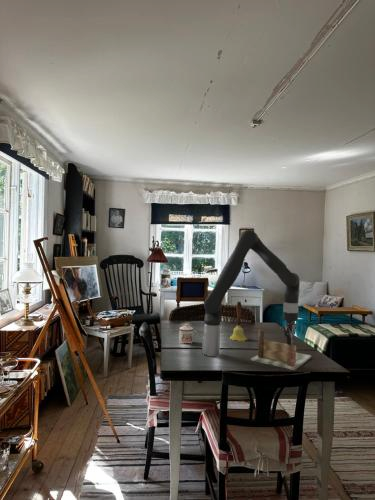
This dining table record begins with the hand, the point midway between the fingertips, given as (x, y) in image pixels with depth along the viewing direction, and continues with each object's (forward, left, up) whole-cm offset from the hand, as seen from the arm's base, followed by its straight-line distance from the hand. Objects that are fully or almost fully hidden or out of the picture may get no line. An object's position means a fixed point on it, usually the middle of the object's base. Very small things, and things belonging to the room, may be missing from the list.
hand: (290, 343), depth 183 cm
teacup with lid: (-66, 0, -11) cm, 67 cm away
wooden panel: (-6, 0, -10) cm, 11 cm away
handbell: (-46, +30, -11) cm, 56 cm away
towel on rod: (-7, +7, -11) cm, 15 cm away
